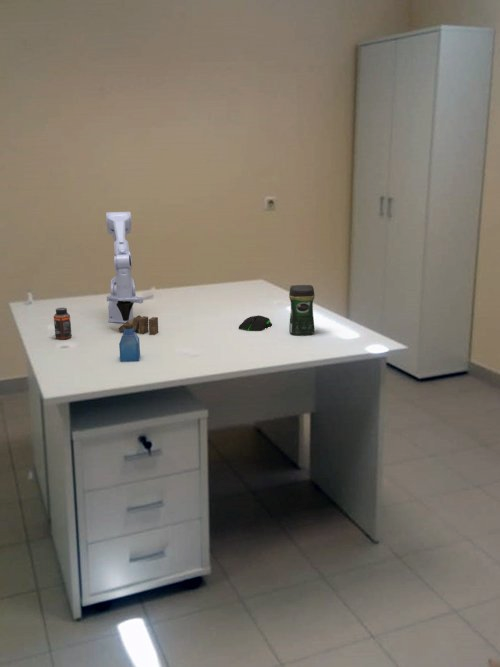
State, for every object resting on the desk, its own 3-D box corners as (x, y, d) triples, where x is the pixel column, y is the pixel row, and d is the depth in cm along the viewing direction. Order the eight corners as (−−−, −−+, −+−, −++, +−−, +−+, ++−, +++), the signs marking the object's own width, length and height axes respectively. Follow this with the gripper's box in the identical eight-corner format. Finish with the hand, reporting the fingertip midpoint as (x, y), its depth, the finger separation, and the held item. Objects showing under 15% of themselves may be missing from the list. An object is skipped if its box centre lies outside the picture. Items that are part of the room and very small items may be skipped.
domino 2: (139, 333, 273) (138, 318, 271) (143, 331, 277) (143, 316, 275) (143, 334, 273) (143, 319, 271) (148, 331, 276) (148, 316, 275)
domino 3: (149, 334, 272) (148, 319, 270) (153, 332, 276) (153, 317, 274) (154, 335, 271) (153, 319, 270) (158, 332, 275) (157, 317, 273)
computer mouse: (278, 323, 289) (278, 313, 288) (263, 333, 274) (263, 323, 273) (252, 321, 293) (252, 311, 292) (236, 330, 278) (236, 320, 277)
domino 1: (129, 331, 274) (134, 317, 272) (133, 328, 278) (139, 315, 276) (133, 333, 274) (138, 320, 272) (138, 330, 277) (143, 317, 275)
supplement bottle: (74, 336, 270) (72, 307, 267) (66, 340, 265) (63, 310, 262) (61, 335, 272) (59, 306, 269) (52, 339, 267) (49, 309, 264)
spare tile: (118, 328, 275) (128, 320, 273) (122, 325, 279) (133, 317, 277) (121, 332, 275) (131, 324, 273) (125, 330, 279) (136, 321, 277)
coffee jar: (312, 330, 277) (313, 282, 272) (315, 335, 269) (316, 287, 264) (287, 330, 276) (288, 283, 271) (289, 336, 269) (290, 287, 264)
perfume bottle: (121, 356, 245) (119, 322, 242) (140, 355, 245) (138, 321, 242) (120, 361, 239) (118, 327, 236) (138, 361, 240) (137, 326, 236)
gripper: (101, 286, 270) (104, 321, 274) (136, 288, 266) (138, 324, 270) (110, 283, 277) (112, 317, 281) (145, 285, 273) (146, 319, 276)
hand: (125, 320), depth 276 cm, fingers closed
